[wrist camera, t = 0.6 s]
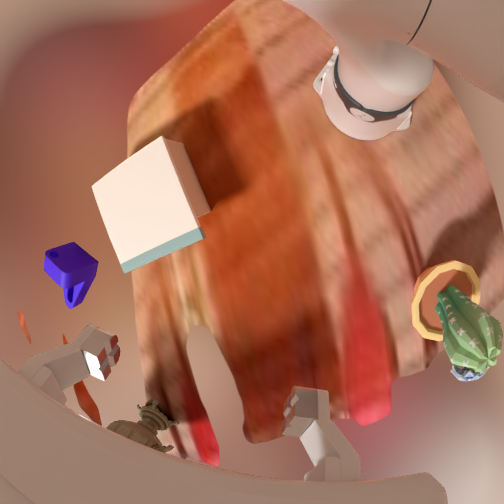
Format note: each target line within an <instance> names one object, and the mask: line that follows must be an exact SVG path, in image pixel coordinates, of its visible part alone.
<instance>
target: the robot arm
mask: <svg viewBox="0 0 504 504" xmlns="http://www.w3.org/2000/svg"><path fill="white" fill-rule="evenodd" d="M282 1H284V2H286V3H288V4H290V5H292V6H294V7H296V8H297V9H299V10H300V11H302V12H304V13H305V14H306V15H308V16H309V17H310V18H312V19H313V20H314V21H315V22H317V23H318V24H319V25H320V26H321V27H322V28H323V29H324V30H325V31H326V32H327V33H328V34H329V35H330V37H331V38H332V39H333V40H334V42H335V43H336V44H337V45H336V46H335V48H334V50H333V53H334V54H333V56H332V57H331V58H330V60H329V61H328V62H327V64H326V65H325V67H324V68H323V69H322V71H321V72H320V73H319V75H318V76H317V78H316V79H315V80H314V83H313V87H314V89H315V91H316V92H317V93H318V94H319V96H320V97H321V98H322V101H323V104H324V108H325V111H326V113H327V115H328V117H329V119H330V120H331V122H332V123H333V124H334V125H335V126H336V127H337V128H338V129H339V130H341V131H342V132H343V133H345V134H347V135H349V136H351V137H353V138H356V139H361V140H376V139H379V138H382V137H384V136H386V135H388V134H389V133H391V132H393V131H402V130H406V129H407V128H408V127H409V126H410V119H411V114H412V111H411V108H412V104H413V102H414V100H415V99H416V97H417V96H418V95H419V94H421V93H422V92H423V91H424V90H425V89H426V88H427V87H428V86H429V84H430V82H431V80H432V77H433V70H434V66H433V60H435V61H437V62H439V63H440V64H442V65H444V66H445V67H447V68H449V69H450V70H452V71H453V72H455V73H456V74H458V75H459V76H461V77H463V78H464V79H465V80H467V81H468V82H470V83H471V84H473V85H474V86H475V87H477V88H479V89H481V90H483V91H485V92H487V93H489V94H490V95H492V96H494V97H496V98H497V99H499V100H501V101H503V102H504V0H282ZM432 59H433V60H432ZM321 79H323V80H322V81H321ZM117 342H118V338H117V336H116V335H114V334H112V333H109V332H107V331H105V330H103V329H100V328H99V327H96V326H94V325H92V324H89V325H87V326H86V327H85V329H84V330H83V331H82V332H81V333H80V334H79V335H78V337H77V338H76V339H75V340H74V341H73V343H72V344H69V343H68V344H65V345H62V346H60V347H57V348H54V349H51V350H48V351H45V352H42V353H39V354H36V355H33V356H31V357H30V359H29V360H28V361H27V362H26V363H25V364H24V366H23V367H22V368H21V369H20V370H19V372H17V371H16V370H15V369H13V368H12V367H11V366H10V365H8V364H7V363H6V362H5V361H4V360H3V359H1V358H0V504H448V501H447V495H446V491H445V488H444V487H443V486H442V485H441V484H440V483H439V482H438V481H437V480H436V479H435V478H434V477H433V476H432V475H431V474H429V473H426V472H424V473H417V474H412V475H406V476H399V477H393V478H385V479H375V480H361V467H360V456H359V455H358V454H357V452H356V451H355V450H354V448H353V447H352V446H351V444H350V443H349V442H348V440H347V439H346V438H345V436H344V435H343V434H342V432H341V431H340V430H339V428H338V427H337V426H336V425H335V423H334V422H333V421H330V411H329V394H328V391H327V390H319V389H314V388H306V387H299V386H294V387H293V388H292V390H291V395H289V396H288V397H287V399H286V402H285V406H284V413H283V414H284V416H285V417H286V418H285V419H284V421H283V424H282V435H288V436H295V437H300V440H301V442H302V444H303V445H304V447H305V449H306V451H307V453H308V455H309V456H310V458H311V460H312V462H313V464H314V465H315V467H314V468H313V469H312V470H311V471H309V472H308V473H307V474H305V475H304V481H301V480H288V479H278V478H269V477H262V476H254V475H249V474H243V473H238V472H233V471H227V470H223V469H219V468H215V467H210V466H206V465H203V464H199V463H195V462H192V461H188V460H185V459H182V458H178V457H175V456H172V455H169V454H166V453H164V452H161V451H158V450H155V449H153V448H150V447H147V446H145V445H142V444H140V443H137V442H135V441H133V440H130V439H128V438H126V437H123V436H121V435H119V434H117V433H115V432H113V431H111V430H108V429H106V428H104V427H102V426H100V425H98V424H97V423H95V422H93V421H91V420H89V419H87V418H85V417H84V416H81V415H80V414H78V413H77V412H75V411H73V410H72V409H70V408H68V407H66V406H65V405H64V404H65V403H66V401H67V399H66V397H65V395H64V393H63V392H62V390H64V389H66V388H68V387H70V386H72V385H74V384H76V383H77V382H79V381H81V380H83V379H85V378H87V377H88V376H90V375H92V376H94V377H97V378H99V379H101V380H103V381H105V380H106V379H107V377H108V376H109V374H110V372H111V368H110V367H112V366H114V365H116V363H117V362H118V359H119V356H120V347H119V346H118V345H117Z"/></svg>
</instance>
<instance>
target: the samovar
mask: <svg viewBox="0 0 504 504" xmlns="http://www.w3.org/2000/svg"><path fill="white" fill-rule="evenodd" d="M152 403H153V404H151V405H150V406H143V407H142V408H141V407H139V405H137V408H138V409H139V415H140V417H141V419H142V421H138V422H137V423H135V422H130V421H125V420H119V421H114V422H113V423H111V424H110V425H109V426H108V427H107V428H106V429H108V430H111V431H113V432H115V433H117V434H119V435H121V436H123V437H126V438H128V439H130V440H133V441H135V442H137V443H140V444H142V445H145V446H147V447H150V448H153V449H155V450H158V451H161V452H164V453H165V452H167V451H170V450H172V449H173V448H174V447H173V446H172V445H169V446H167V447H166V446H162V444H161V442H160V441H159V439H158V438H157V437H156V435H157V434H158V433H157V430H161V431H162V430H167V429H168V428H169V427H170V426H171V425H178V424H179V423H178V421H169V420H167V417H166V416H164V414H163V413H162V412H160V411H159V410H158V407H157V405H158V401H157V400H152Z"/></svg>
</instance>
